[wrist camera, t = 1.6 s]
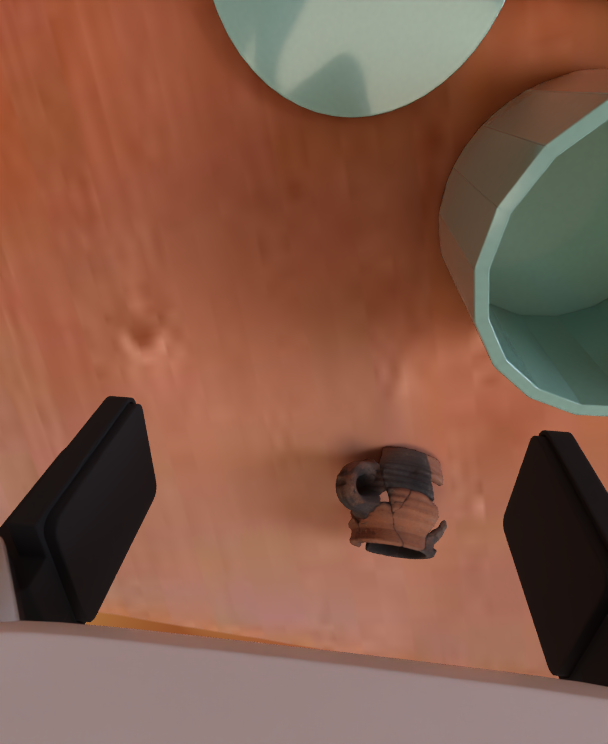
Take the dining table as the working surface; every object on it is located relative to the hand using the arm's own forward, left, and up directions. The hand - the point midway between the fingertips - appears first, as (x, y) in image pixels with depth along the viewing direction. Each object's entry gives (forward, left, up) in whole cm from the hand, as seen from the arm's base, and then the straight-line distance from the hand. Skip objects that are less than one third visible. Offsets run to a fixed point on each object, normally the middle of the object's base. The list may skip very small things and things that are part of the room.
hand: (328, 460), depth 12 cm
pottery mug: (+24, +5, -25) cm, 35 cm away
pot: (0, +14, -25) cm, 29 cm away
